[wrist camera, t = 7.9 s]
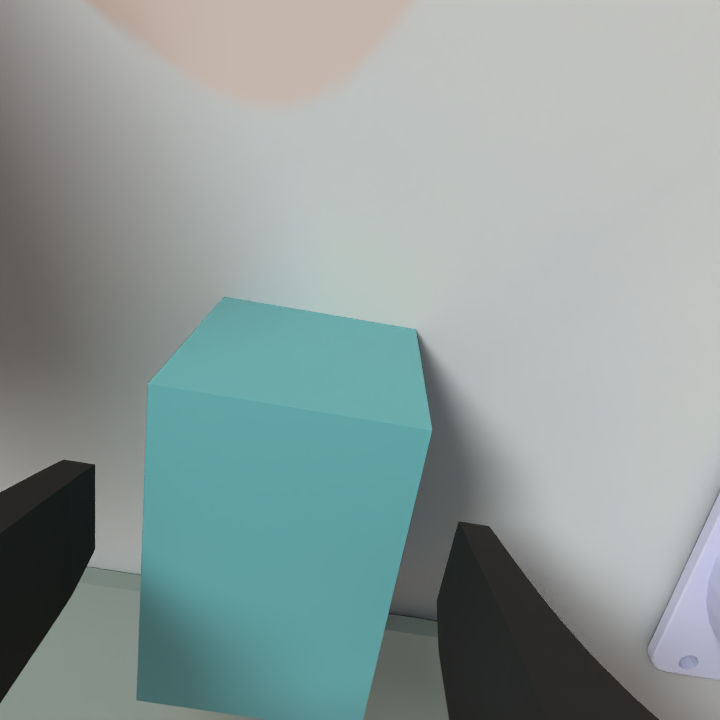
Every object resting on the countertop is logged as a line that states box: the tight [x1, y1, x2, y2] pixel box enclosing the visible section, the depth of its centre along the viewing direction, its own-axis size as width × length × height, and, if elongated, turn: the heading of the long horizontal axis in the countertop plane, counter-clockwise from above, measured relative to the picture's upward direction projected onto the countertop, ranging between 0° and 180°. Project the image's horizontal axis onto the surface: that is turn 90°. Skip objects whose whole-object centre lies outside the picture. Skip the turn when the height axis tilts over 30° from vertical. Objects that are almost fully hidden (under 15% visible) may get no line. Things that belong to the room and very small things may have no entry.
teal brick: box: [136, 297, 432, 720], centre depth 13 cm, size 4×7×5 cm, turn 171°
